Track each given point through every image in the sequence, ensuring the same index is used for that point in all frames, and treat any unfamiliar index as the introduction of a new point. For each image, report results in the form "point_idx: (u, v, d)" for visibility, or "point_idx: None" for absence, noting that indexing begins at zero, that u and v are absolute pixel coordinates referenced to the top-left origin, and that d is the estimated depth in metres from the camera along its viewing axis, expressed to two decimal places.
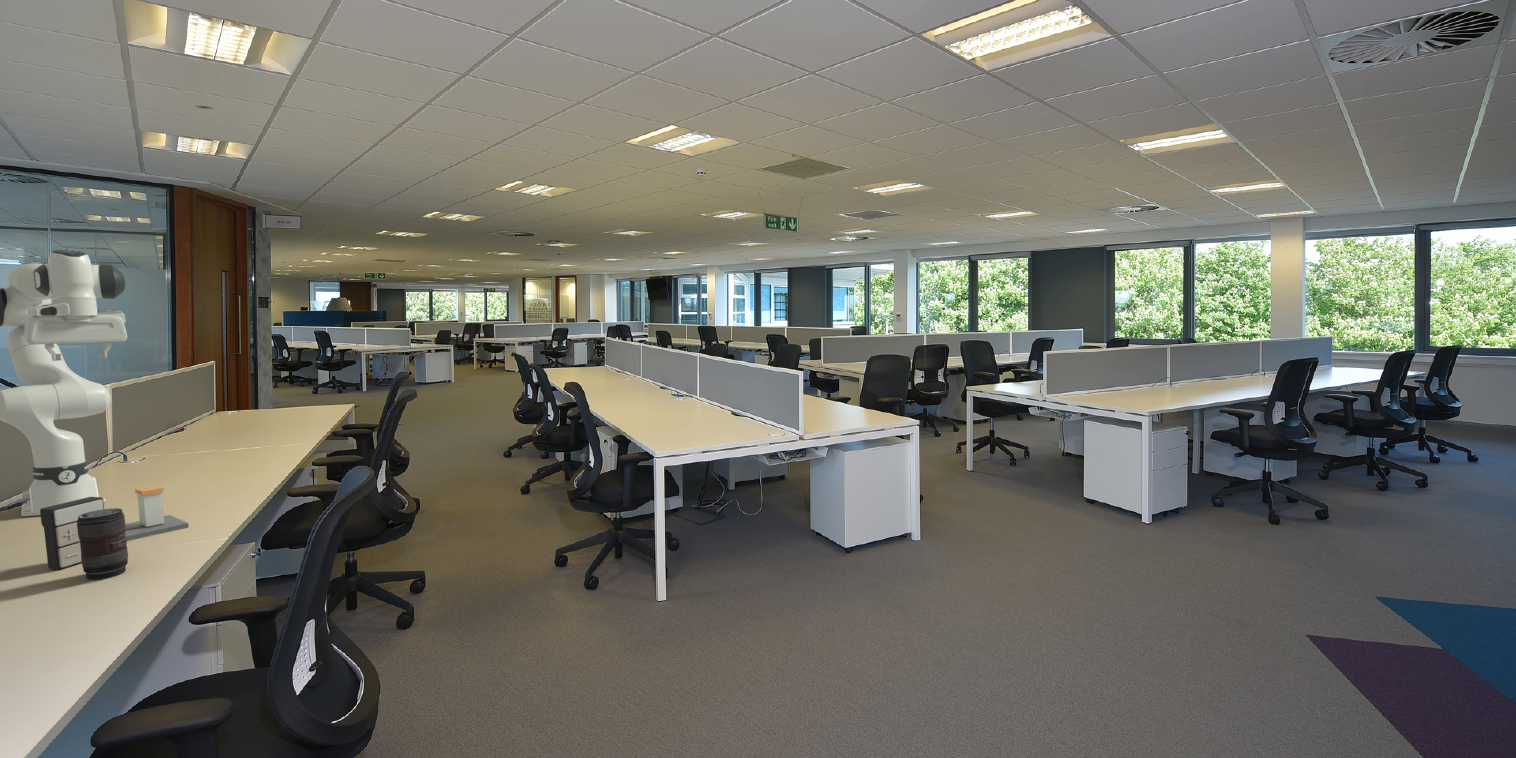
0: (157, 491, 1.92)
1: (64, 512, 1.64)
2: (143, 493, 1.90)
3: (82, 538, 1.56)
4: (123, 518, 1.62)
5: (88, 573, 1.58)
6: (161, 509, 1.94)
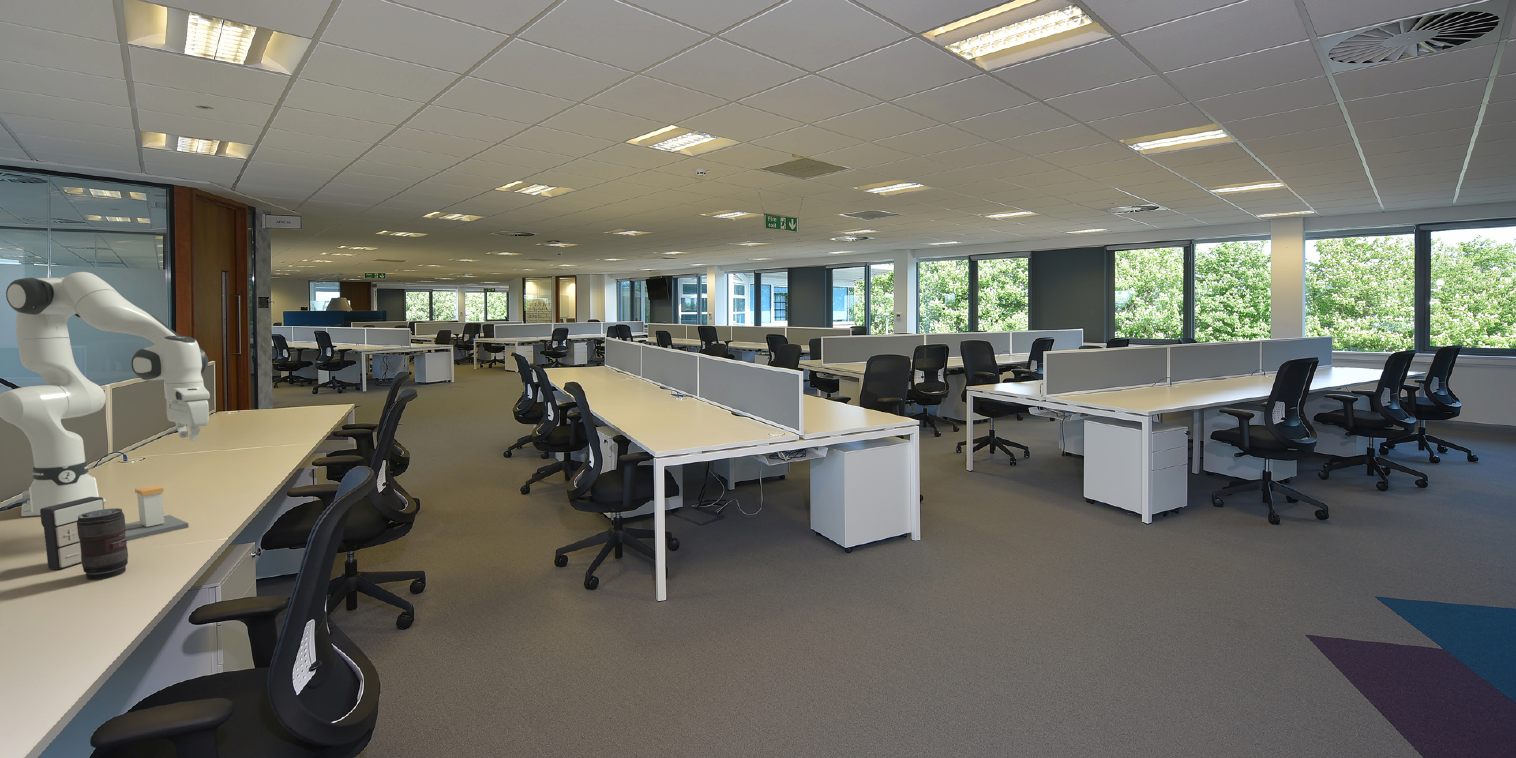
0: (157, 491, 1.92)
1: (64, 512, 1.64)
2: (143, 493, 1.90)
3: (82, 538, 1.56)
4: (123, 518, 1.62)
5: (88, 573, 1.58)
6: (161, 509, 1.94)
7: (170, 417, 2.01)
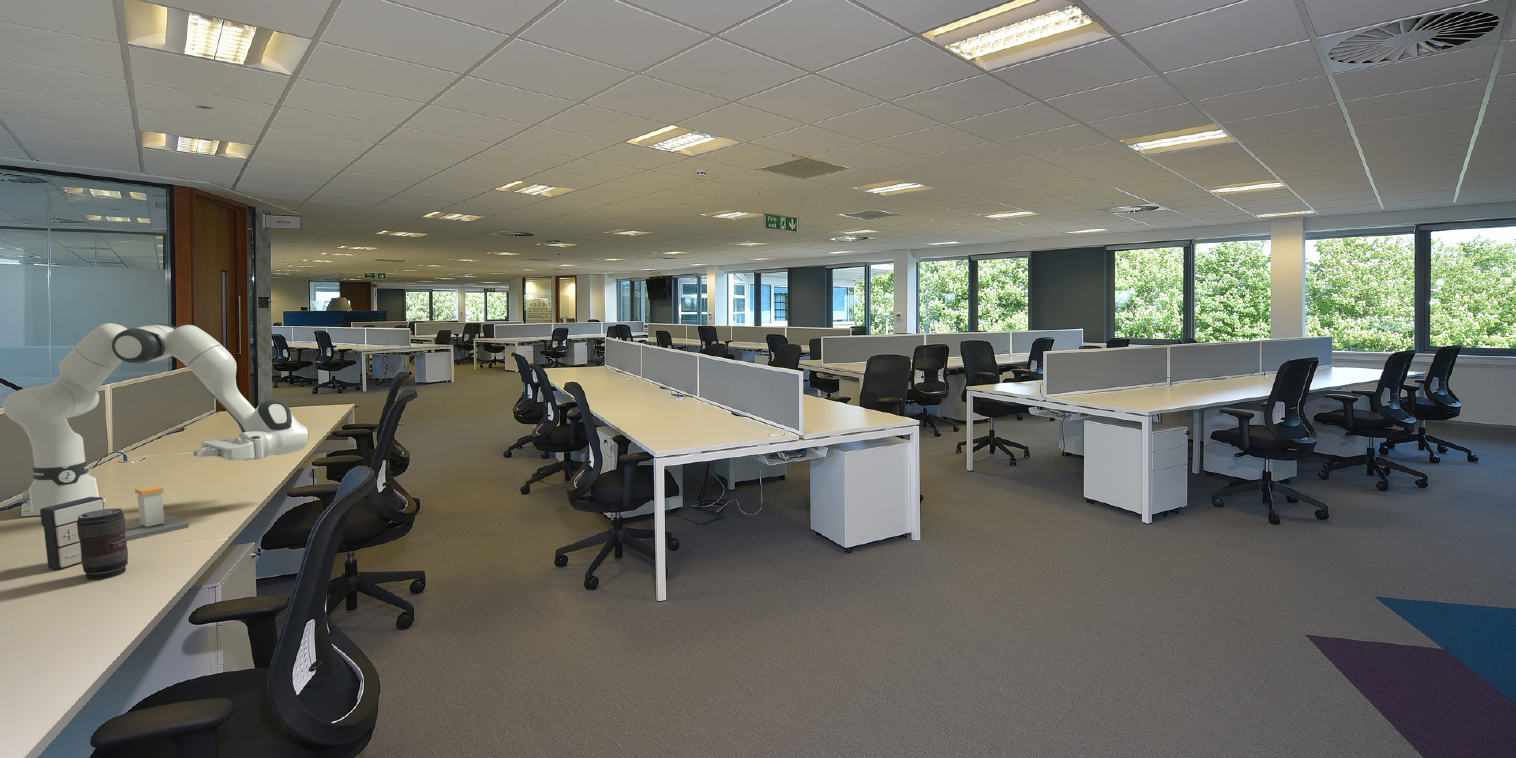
0: (157, 491, 1.92)
1: (64, 512, 1.64)
2: (143, 493, 1.90)
3: (82, 538, 1.56)
4: (123, 518, 1.62)
5: (88, 573, 1.58)
6: (161, 509, 1.94)
7: (210, 442, 2.10)
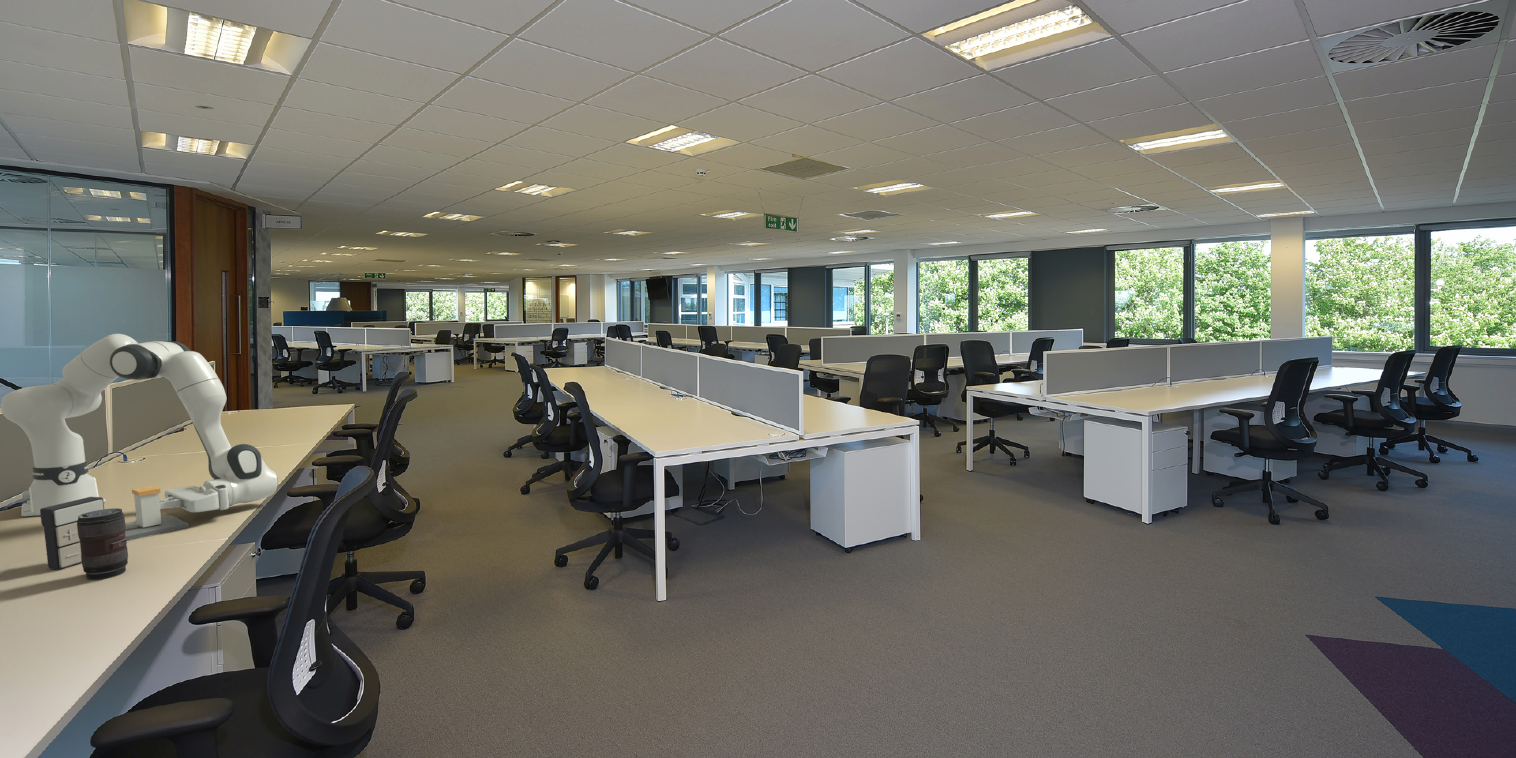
0: (154, 492, 1.92)
1: (64, 512, 1.64)
2: (139, 493, 1.89)
3: (82, 538, 1.56)
4: (123, 518, 1.62)
5: (88, 573, 1.58)
6: (158, 510, 1.93)
7: (173, 491, 2.03)
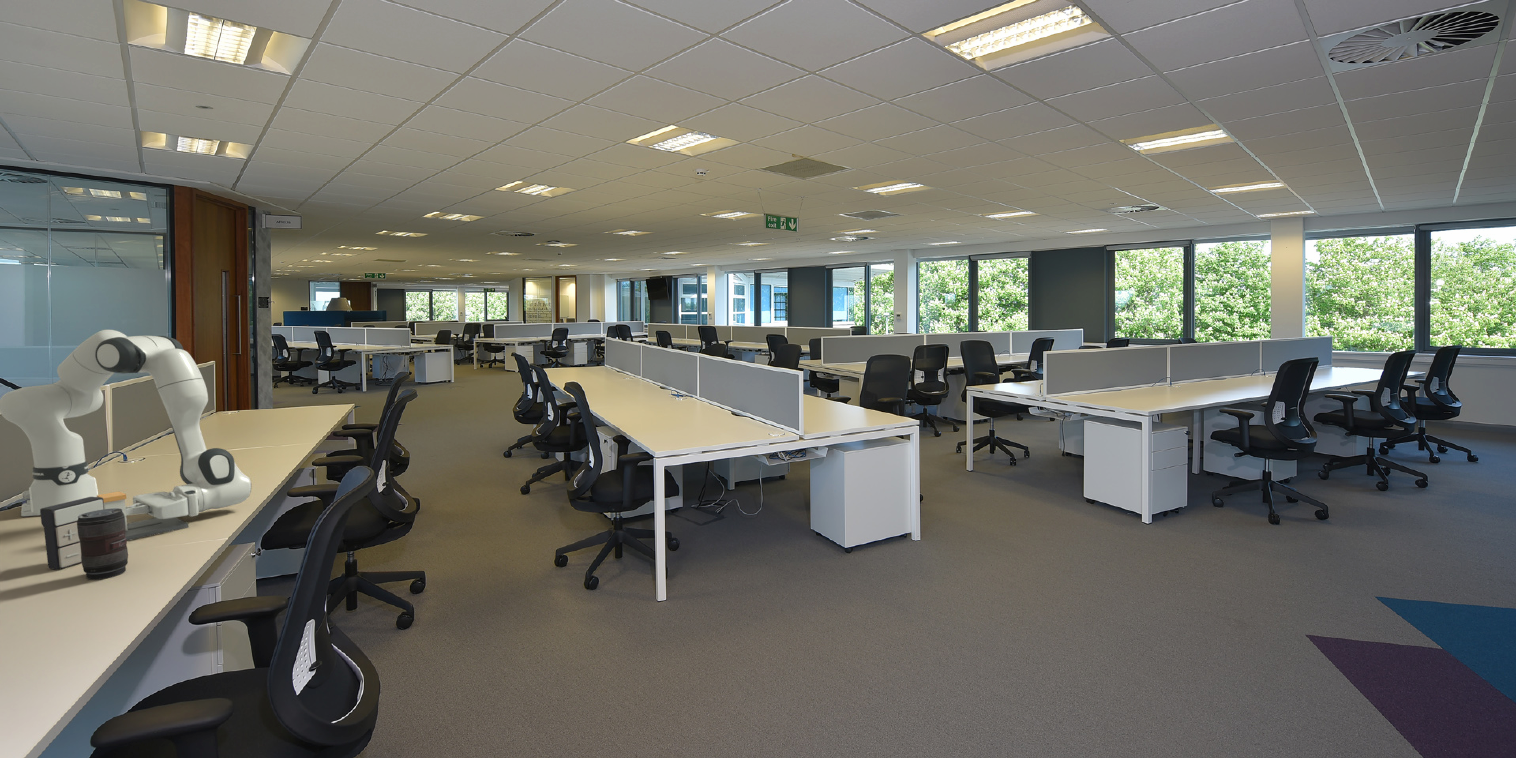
0: (120, 498, 1.86)
1: (64, 512, 1.64)
2: (104, 499, 1.83)
3: (82, 538, 1.56)
4: (123, 518, 1.62)
5: (88, 573, 1.58)
6: None
7: (141, 496, 1.97)
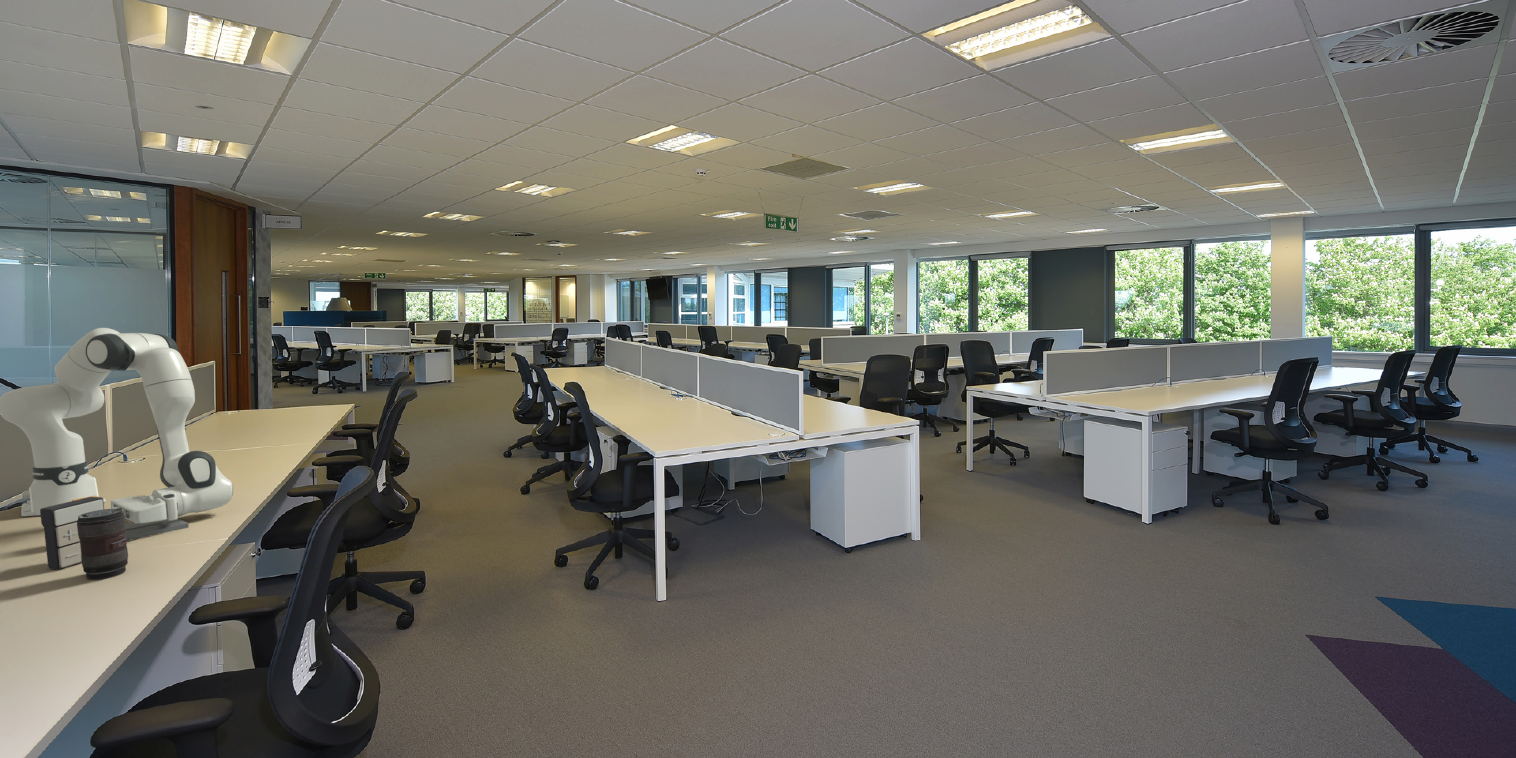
0: None
1: (64, 512, 1.64)
2: None
3: (82, 538, 1.56)
4: (123, 518, 1.62)
5: (88, 573, 1.58)
6: None
7: (119, 500, 1.93)
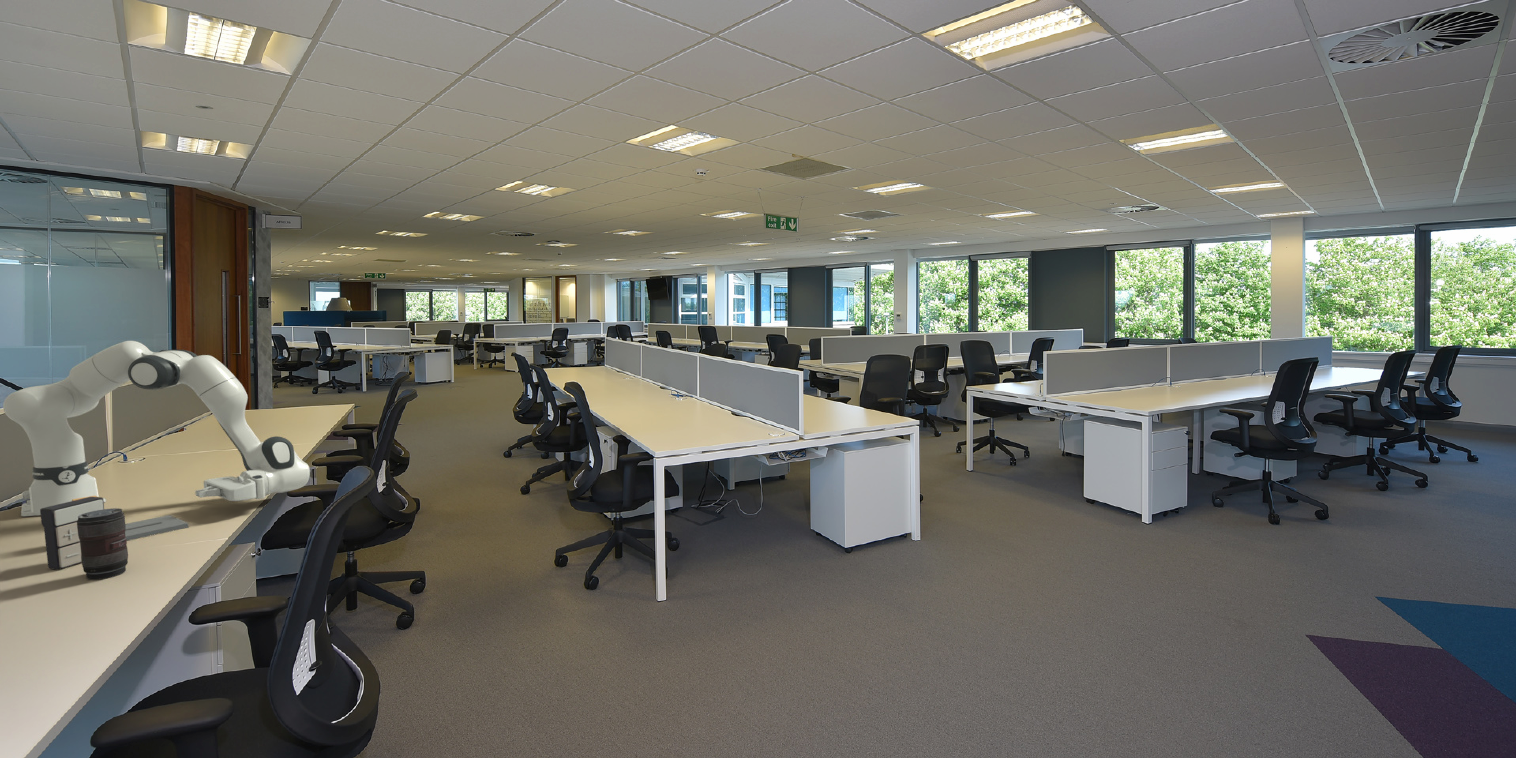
0: None
1: (64, 512, 1.64)
2: None
3: (82, 538, 1.56)
4: (123, 518, 1.62)
5: (88, 573, 1.58)
6: None
7: (212, 480, 2.11)
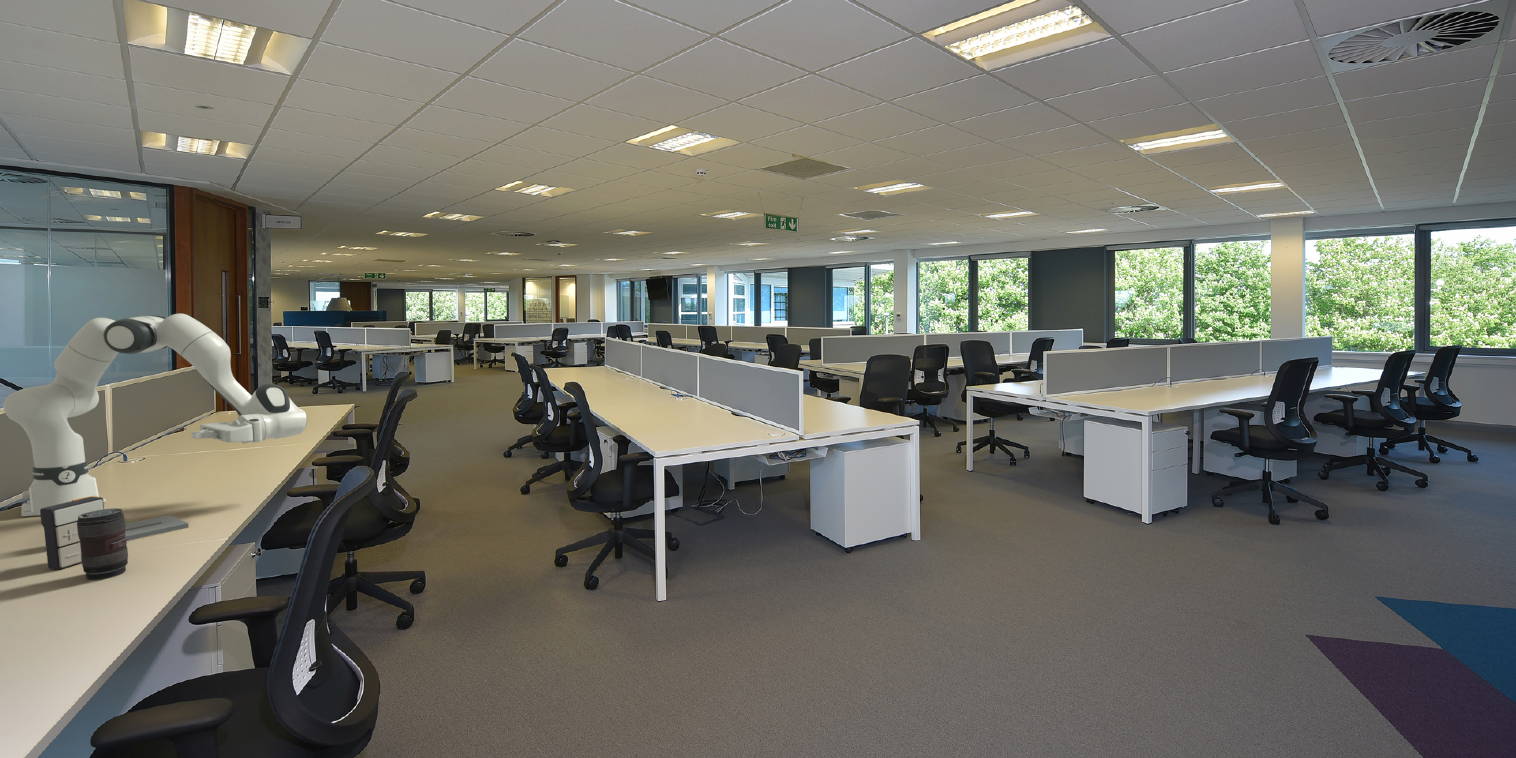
0: None
1: (64, 512, 1.64)
2: None
3: (82, 538, 1.56)
4: (123, 518, 1.62)
5: (88, 573, 1.58)
6: None
7: (208, 424, 2.09)
